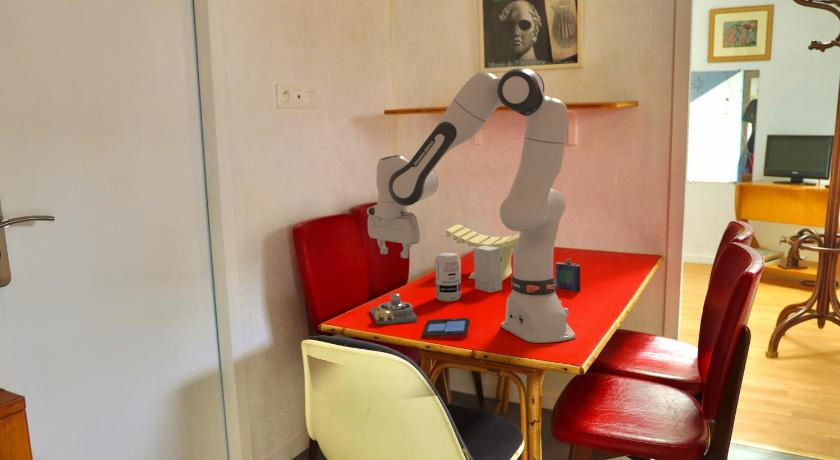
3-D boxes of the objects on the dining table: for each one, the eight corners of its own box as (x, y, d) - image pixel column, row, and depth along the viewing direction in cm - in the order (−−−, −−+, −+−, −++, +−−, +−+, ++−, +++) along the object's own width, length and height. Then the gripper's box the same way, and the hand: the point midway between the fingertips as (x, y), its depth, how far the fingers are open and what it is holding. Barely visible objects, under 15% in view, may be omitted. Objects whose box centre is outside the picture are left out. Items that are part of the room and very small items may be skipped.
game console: (427, 323, 192) (427, 316, 191) (470, 324, 190) (470, 317, 189) (420, 340, 177) (420, 332, 177) (467, 341, 176) (467, 333, 175)
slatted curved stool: (535, 272, 247) (536, 226, 244) (525, 282, 233) (525, 233, 230) (460, 267, 259) (460, 222, 256) (446, 276, 245) (446, 229, 242)
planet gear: (409, 312, 197) (408, 296, 196) (386, 314, 195) (385, 298, 194) (404, 306, 203) (404, 290, 202) (382, 308, 202) (382, 292, 201)
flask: (553, 288, 225) (554, 257, 223) (557, 286, 227) (558, 256, 225) (578, 292, 219) (579, 261, 217) (582, 290, 221) (583, 259, 220)
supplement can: (447, 293, 221) (447, 250, 218) (465, 298, 215) (465, 253, 213) (430, 298, 215) (430, 254, 213) (449, 303, 210) (448, 257, 207)
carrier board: (418, 321, 192) (418, 311, 191) (377, 325, 189) (377, 314, 189) (408, 308, 205) (408, 298, 205) (370, 311, 203) (369, 301, 202)
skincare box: (502, 290, 224) (502, 248, 221) (488, 293, 220) (488, 250, 218) (486, 285, 230) (486, 244, 228) (473, 288, 227) (473, 246, 225)
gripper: (424, 211, 188) (425, 258, 191) (379, 206, 203) (381, 249, 206) (407, 214, 184) (409, 262, 187) (363, 208, 199) (365, 253, 201)
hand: (394, 255), depth 196 cm, fingers open, 8 cm apart
